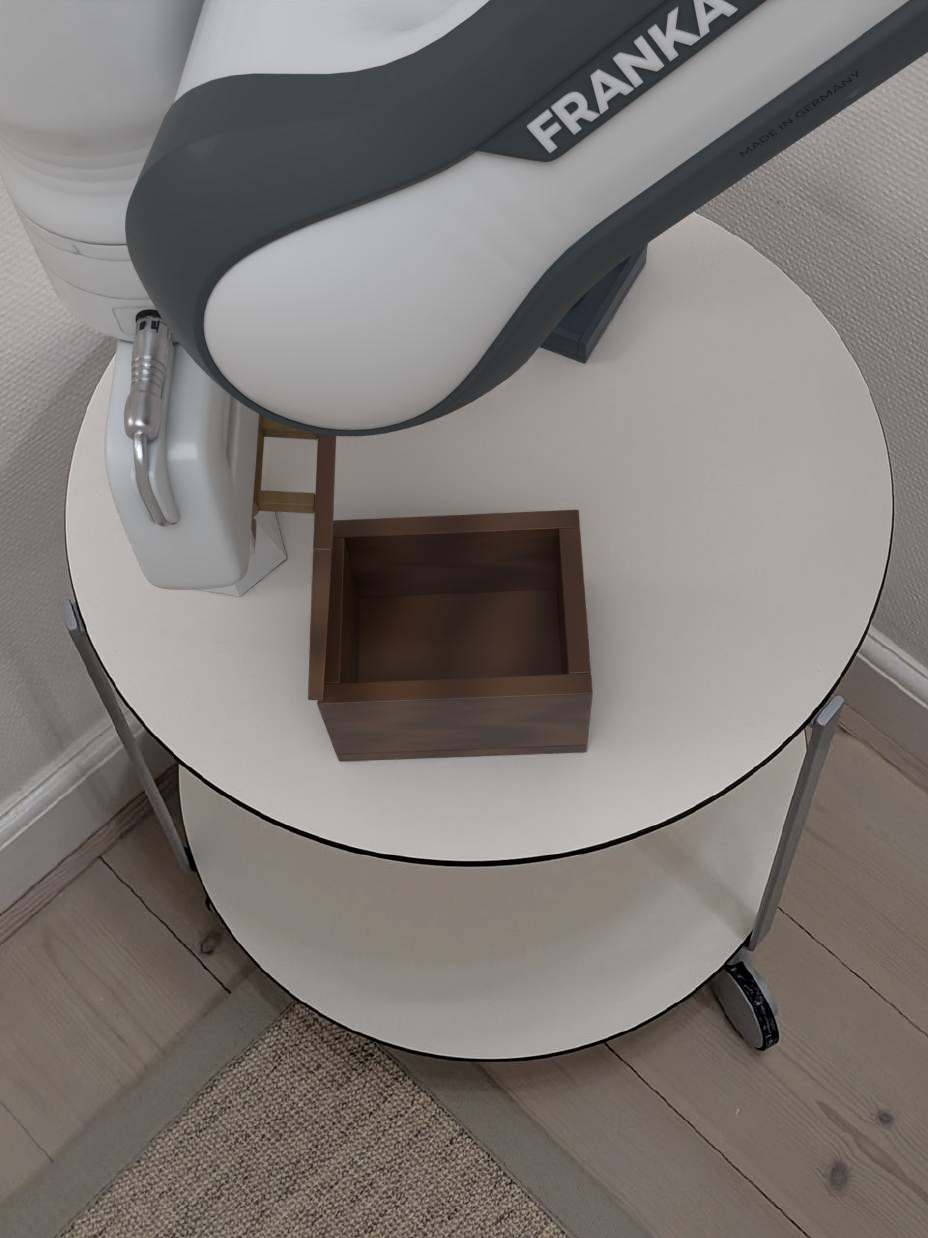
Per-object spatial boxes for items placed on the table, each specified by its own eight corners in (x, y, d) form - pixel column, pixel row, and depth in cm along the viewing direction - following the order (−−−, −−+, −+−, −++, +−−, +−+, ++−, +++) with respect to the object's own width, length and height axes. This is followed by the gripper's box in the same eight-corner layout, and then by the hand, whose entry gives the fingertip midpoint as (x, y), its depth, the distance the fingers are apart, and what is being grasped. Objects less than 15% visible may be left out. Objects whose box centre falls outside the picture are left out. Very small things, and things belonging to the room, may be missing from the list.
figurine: (274, 601, 77) (208, 426, 61) (151, 584, 78) (55, 407, 62) (301, 507, 80) (245, 318, 65) (183, 492, 81) (99, 302, 66)
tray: (646, 262, 89) (648, 241, 87) (585, 363, 85) (586, 344, 83) (506, 214, 92) (506, 193, 90) (441, 310, 88) (439, 290, 86)
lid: (339, 335, 57) (228, 328, 56) (332, 550, 51) (209, 544, 51) (329, 516, 70) (239, 511, 69) (323, 701, 64) (225, 698, 64)
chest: (574, 581, 77) (578, 508, 70) (586, 752, 72) (592, 693, 64) (343, 591, 77) (323, 520, 70) (338, 762, 72) (316, 704, 65)
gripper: (233, 459, 37) (305, 660, 50) (269, 15, 47) (322, 275, 59) (26, 468, 38) (149, 666, 50) (104, 23, 47) (191, 281, 59)
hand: (243, 450), depth 55 cm, fingers open, 8 cm apart
